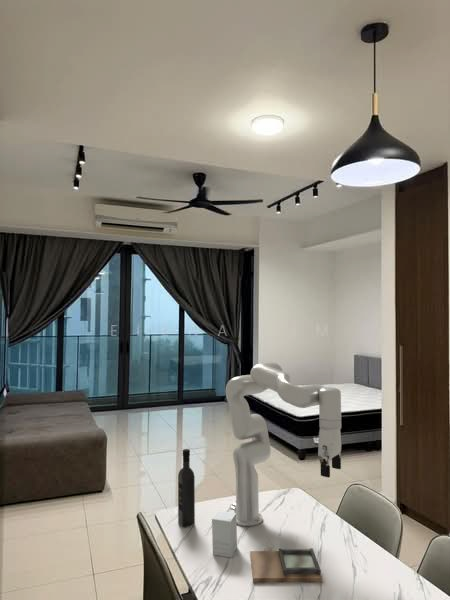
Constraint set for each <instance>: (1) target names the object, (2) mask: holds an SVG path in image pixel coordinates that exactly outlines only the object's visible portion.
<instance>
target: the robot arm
mask: <svg viewBox="0 0 450 600" xmlns="http://www.w3.org/2000/svg"><path fill="white" fill-rule="evenodd" d="M225 386H226V387H225V396H226V401H227V403H228V407H229V413H230V418H231V419H230V420H231V426H232V432H233V435H234V438H236V440H239V441H243V440H244V441H245V440H248V439H251V440H250V441H247V442H243V443H241V444H238V445H237V446H236V447H235V448H234V449H233V452H232V453H233V454H232V457H233V463H234V470H235V502H233V503H232V504H231V506H230V508H229V509H230V510H231V511H234V512H233V513H236V518H237V525H238V526H243V527H254V526H257V525H260V524H261V523H262V521H263V515H262V514H261V513H260V511H259V509H260V505H259V503H260V502H259V501H260V500H259V498H260V497H259V473H258V471H257V470H256V468H255V466H256V465H258V464H261V463H263V462H266V461H267V460H268V459H270V456H271V444H270V437H269V432H268V431H269V430H268V426H267V423H266V420H265V419H264V417H263V416H262V415H260V414H258V413H252V414H251V410H250V406H249V403H248V401H247V399H246V398H245V396H251V395H257V394H260V393H264V392H265V391H266V390H268V389H269V390H271V391H273V392H275V393H277V395H278V397H279V398H280V399H281V400H282V401H283V402H285V403H287V404H289V405H291V406H293V407H297V408H300V409H306V408H311V407H315V406H319V407H318V410H319V414H318V416H319V422H318V423H319V432H318V446H317V447H318V449H317V455H318V459H319V465H320V476H321V477H324V478H328V479H329V478H330V477H331V469H330V468H332V469H335V470H341V469H342V463H341V462H342V453H341V452H342V445H343V444H342V436H341V435H342V434H341V429H342V393H341V389H339V388H338V387H337V388H336V387H331V386H330V387H327V386H324V385H322V384H317V383H315V384H310V385H302V386H300V385H299V386H298V385H295V384H294V383H291V376H290V375H289V373H287V372H285V371H283V368H282V367H281V365H279V364H278V363H276V362H265V363H264V362H263V363H257V364H255V365H253V367H252V368H251V370H250V374H246V375H244V374H243V375H240V376H239V375H238V376H235V377H232V378H230V380H229V381H228V382H227V384H226V385H225ZM330 462H331V466H330Z"/></svg>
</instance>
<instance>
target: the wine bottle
mask: <svg viewBox="0 0 450 600" xmlns="http://www.w3.org/2000/svg"><path fill="white" fill-rule="evenodd" d="M190 455H191V450H190V449H188V448H184V449H182V467H181V469H179V471H178V475H177V504H178V505H177V521H178V522H177V523H178V524H179V525H180V526H181V527H183V528H187V526H188V527H190V526H191V525H192V526H195V525H196V523H195V522H196V515H195V514H196V513H195V511H196V509H195V507H196V506H195V503H196V502H195V501H196V499H195V498H196V497H195V496H196V495H195V493H196V490H195V485H196V483H195V482H196V481H195V479H196V478H195V473H194V472H195V471H193V469H192V468H191V466H190V465H191V464H190V458H191V457H190Z"/></svg>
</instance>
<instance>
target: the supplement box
mask: <svg viewBox="0 0 450 600" xmlns="http://www.w3.org/2000/svg"><path fill="white" fill-rule="evenodd" d="M237 525H238V524H237V518H236V513H234V512H233V511H232V512H231V511H223V510H218V511H217V512H216V513H215V515H214V516H213V517H212V518H211V526H212V527H211V529H212V532H211V534H212V539H211V540H212V555H215V556H220V557H225V558H226V557H227V558H232V557H233V555H234V554H235V552H236V551H237V548H238V534H237V533H238V532H237V530H238V528H237V527H238V526H237Z"/></svg>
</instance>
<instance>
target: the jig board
mask: <svg viewBox="0 0 450 600" xmlns="http://www.w3.org/2000/svg"><path fill="white" fill-rule="evenodd" d="M249 558H250V566H251V567H250V568H251V575H252V584H287V583H288V584H294V583H295V584H296V583H297V584H299V583H300V584H301V583H303V584H304V583H306V584H308V583H318V584H319V583H323V577H322V574H321V573H322V569H321V567H320V565H319V562H318V559H317V556H316V554H315V551H314V549H313V548H311V547H310V548H309V549H308V548H305V549H304V548H301V549H298V548H297V549H295V548H293V549H290V548H289V549H288V548H287V549H282V548H278V550H250V551H249Z"/></svg>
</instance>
